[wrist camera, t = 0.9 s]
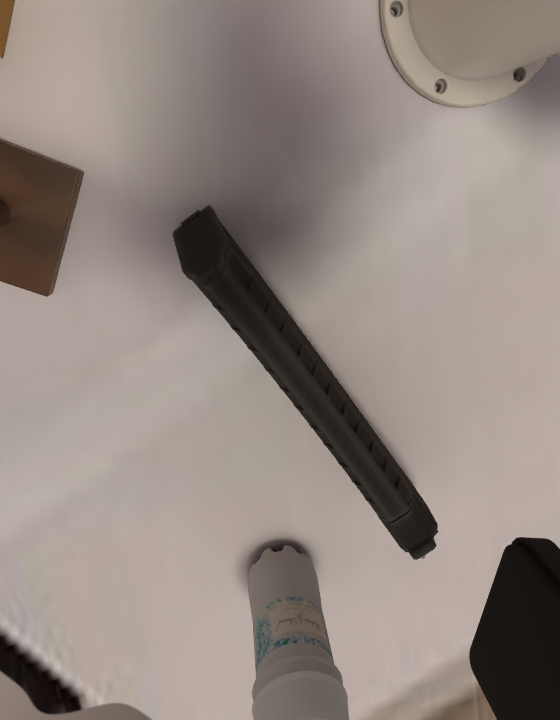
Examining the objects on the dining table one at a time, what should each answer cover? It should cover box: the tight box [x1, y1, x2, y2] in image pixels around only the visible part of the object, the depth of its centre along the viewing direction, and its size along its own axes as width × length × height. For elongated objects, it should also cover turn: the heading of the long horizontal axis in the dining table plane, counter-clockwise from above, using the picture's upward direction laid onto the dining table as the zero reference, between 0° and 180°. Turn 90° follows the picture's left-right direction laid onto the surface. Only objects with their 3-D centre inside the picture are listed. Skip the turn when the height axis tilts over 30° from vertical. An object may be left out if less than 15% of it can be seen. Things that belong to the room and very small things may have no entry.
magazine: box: [173, 205, 438, 560], centre depth 37 cm, size 17×3×30 cm
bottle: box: [248, 545, 349, 720], centre depth 39 cm, size 7×7×20 cm
